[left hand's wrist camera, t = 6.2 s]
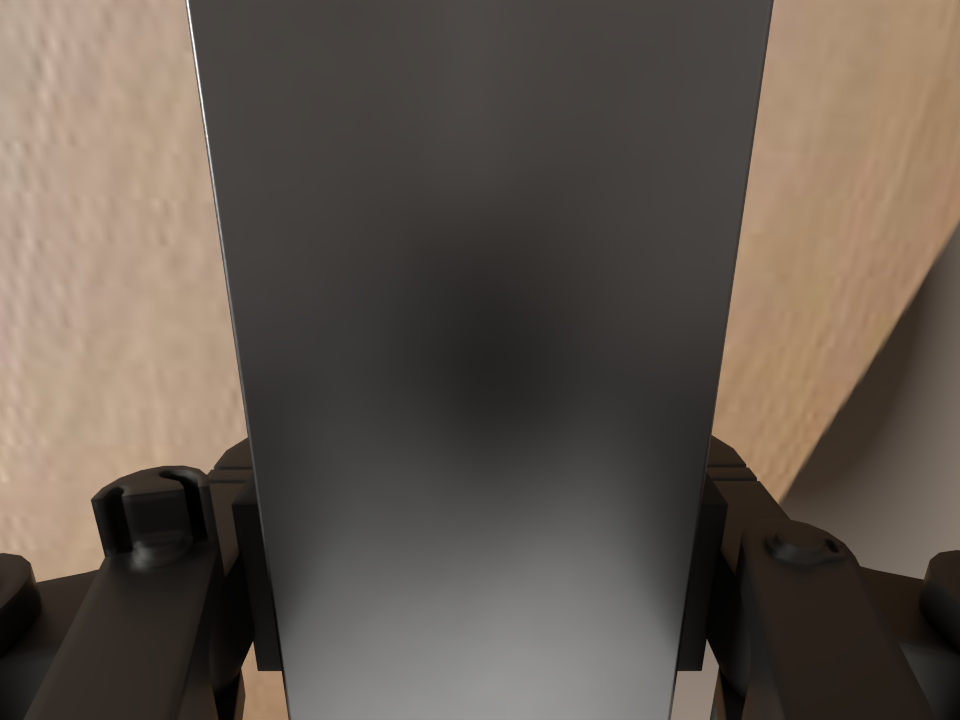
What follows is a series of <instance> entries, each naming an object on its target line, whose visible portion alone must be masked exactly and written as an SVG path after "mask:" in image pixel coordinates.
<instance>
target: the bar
mask: <svg viewBox="0 0 960 720" xmlns="http://www.w3.org/2000/svg"><path fill="white" fill-rule="evenodd" d="M773 1H774V0H185V2H186V9H187V15H188V22H189V29H190V36H191V43H192V50H193V57H194V64H195V71H196V78H197V85H198V92H199V99H200V106H201V113H202V120H203V127H204V134H205V141H206V148H207V155H208V162H209V168H210V175H211V182H212V189H213V196H214V203H215V210H216V217H217V224H218V231H219V238H220V245H221V252H222V259H223V266H224V273H225V280H226V287H227V294H228V301H229V308H230V315H231V321H232V328H233V335H234V342H235V349H236V356H237V363H238V370H239V377H240V384H241V391H242V398H243V405H244V412H245V419H246V426H247V433H248V440H249V447H250V454H251V461H252V467H253V474H254V481H255V488H256V495H257V502H258V509H259V516H260V523H261V530H262V537H263V544H264V551H265V558H266V565H267V572H268V579H269V586H270V593H271V600H272V607H273V614H274V620H275V627H276V634H277V641H278V648H279V655H280V662H281V669H282V676H283V683H284V690H285V697H286V704H287V711H288V718H289V720H670V719H671V712H672V705H673V698H674V691H675V685H676V678H677V671H678V664H679V657H680V650H681V643H682V636H683V629H684V622H685V615H686V608H687V601H688V594H689V587H690V580H691V573H692V566H693V559H694V552H695V545H696V538H697V531H698V524H699V517H700V510H701V503H702V496H703V489H704V482H705V475H706V468H707V461H708V454H709V448H710V441H711V434H712V427H713V420H714V413H715V406H716V399H717V392H718V385H719V378H720V371H721V364H722V357H723V350H724V343H725V336H726V329H727V322H728V315H729V308H730V301H731V294H732V287H733V280H734V273H735V266H736V259H737V252H738V245H739V238H740V231H741V224H742V217H743V210H744V204H745V197H746V190H747V183H748V176H749V169H750V162H751V155H752V148H753V141H754V134H755V127H756V120H757V113H758V106H759V99H760V92H761V85H762V78H763V71H764V64H765V57H766V50H767V43H768V36H769V29H770V22H771V15H772V8H773Z"/></svg>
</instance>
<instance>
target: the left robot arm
mask: <svg viewBox="0 0 960 720" xmlns="http://www.w3.org/2000/svg"><path fill="white" fill-rule="evenodd" d="M91 502H92V506H93V510H94V514H95V518H96V522H97V526H98V530H99V534H100V538H101V542H102V546H103V550H104V554H105V559H104V561H103V563H102V565H101V566H100V568H99V569H98V570H94V571H91V572H87V573H82V574H77V575H72V576H67V577H62V578H57V579H52V580H47V581H42V582H37V583H36V580H35V577H34V573H33V570H32V567H31V563H30V562H28V561H27V560H26V559H25V558H23V557H22V556H20V555H13V554H6V553H1V554H0V720H242V718H243V710H244V703H245V689H244V681H243V676H242V670H241V667H242V665H243V662H244V660H245V658H246V656H247V653H248V651H249V649H250V647H251V644H252V642H253V643H254V649H255V655H256V661H257V668H258V671H282V669H281V662H280V655H279V648H278V641H277V634H276V627H275V620H274V614H273V607H272V600H271V593H270V586H269V579H268V572H267V565H266V558H265V551H264V544H263V537H262V530H261V523H260V516H259V509H258V502H257V495H256V488H255V481H254V474H253V467H252V461H251V454H250V447H249V440H248V438H246V439H244V440H243V441H241V442H240V443H238V444H236V445H235V446H233V447H232V448H230V449H228V450H227V451H226V452H225V453H224V454H223V456H222V457H221V458H220V459H219V461H218V462H217V463H216V464H215V466H214V470H211V471H210V472H209V473H208V475H206V474H205V473H203V472H202V471H201V470H200V469H196V468H192V467H187V466H161V467H156V468H151V469H145V470H141V471H138V472H135V473H132V474H130V475H127V476H124V477H121V478H119V479H117V480H116V481H114V482H112V483H110V484H109V485H107V486H105V487H103V488H102V489H101V490H100V491H99V492H98V493H97V494H96V495H95V496H94V497H93V498H92V499H91ZM706 640H708V642H709V644H710V647H711V649H712V651H713V653H714V655H715V658H716V660H717V662H718V664H719V670H718V676H717V682H716V687H715V693H714V699H713V704H712V710H711V716H710V720H960V550H954V551H948V552H941V553H938V554H937V555H936V556H935V557H933V558H932V559H931V560H930V562H929V565H928V568H927V572H926V575H925V578H924V580H922V579H917V578H912V577H907V576H902V575H897V574H892V573H887V572H882V571H877V570H872V569H869V568H865V567H861V566H860V565H859V563H858V561H857V559H856V557H855V556H854V555H853V553H852V552H851V551H850V550H849V548H848V547H847V546H846V545H845V544H844V543H843V542H841V541H840V540H839V539H837V538H836V537H834V536H833V535H831V534H830V533H828V532H826V531H824V530H822V529H819V528H817V527H814V526H812V525H810V524H807V523H803V522H799V521H794V520H790V519H789V517H788V516H787V515H786V514H785V512H784V511H783V510H782V509H781V507H780V506H779V505H778V504H777V502H776V501H775V500H774V499H773V497H772V496H771V495H770V494H769V492H768V491H767V490H766V489H765V487H764V486H763V485H762V484H761V482H760V481H757V477H756V476H755V475H754V474H753V472H752V471H751V470H750V469H749V468H746V464H745V462H744V461H743V460H742V459H741V457H740V456H739V455H738V454H737V452H736V451H735V450H734V449H733V448H732V447H730V446H729V445H727V444H725V443H724V442H722V441H720V440H719V439H717V438H716V437H714V436H712V435H711V441H710V448H709V454H708V461H707V468H706V475H705V482H704V489H703V496H702V503H701V510H700V517H699V524H698V531H697V538H696V545H695V552H694V559H693V566H692V573H691V580H690V587H689V594H688V601H687V608H686V615H685V622H684V629H683V636H682V643H681V650H680V657H679V664H678V671H702V665H703V659H704V652H705V646H706Z"/></svg>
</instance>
